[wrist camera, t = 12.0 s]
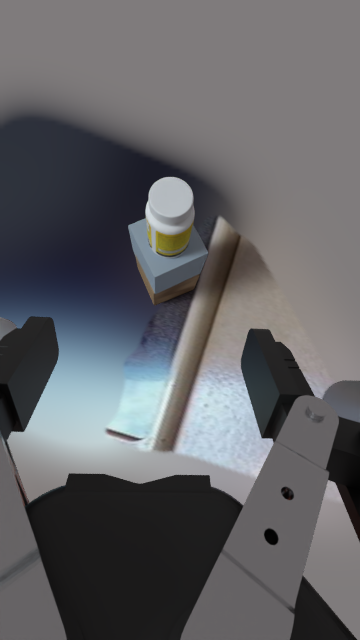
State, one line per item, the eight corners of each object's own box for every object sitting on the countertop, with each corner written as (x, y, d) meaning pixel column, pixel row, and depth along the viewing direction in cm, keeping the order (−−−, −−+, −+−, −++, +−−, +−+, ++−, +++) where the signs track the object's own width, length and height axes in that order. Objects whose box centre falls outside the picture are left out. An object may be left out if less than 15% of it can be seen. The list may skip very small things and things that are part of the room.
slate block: (177, 231, 41) (181, 203, 35) (200, 273, 40) (208, 252, 34) (133, 250, 40) (128, 225, 34) (155, 294, 39) (154, 277, 33)
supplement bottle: (197, 241, 34) (209, 199, 26) (167, 267, 33) (170, 232, 25) (168, 213, 34) (172, 163, 26) (139, 238, 33) (133, 194, 25)
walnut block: (176, 252, 48) (179, 232, 41) (193, 289, 47) (199, 275, 40) (137, 267, 47) (134, 249, 40) (154, 305, 46) (153, 293, 39)
